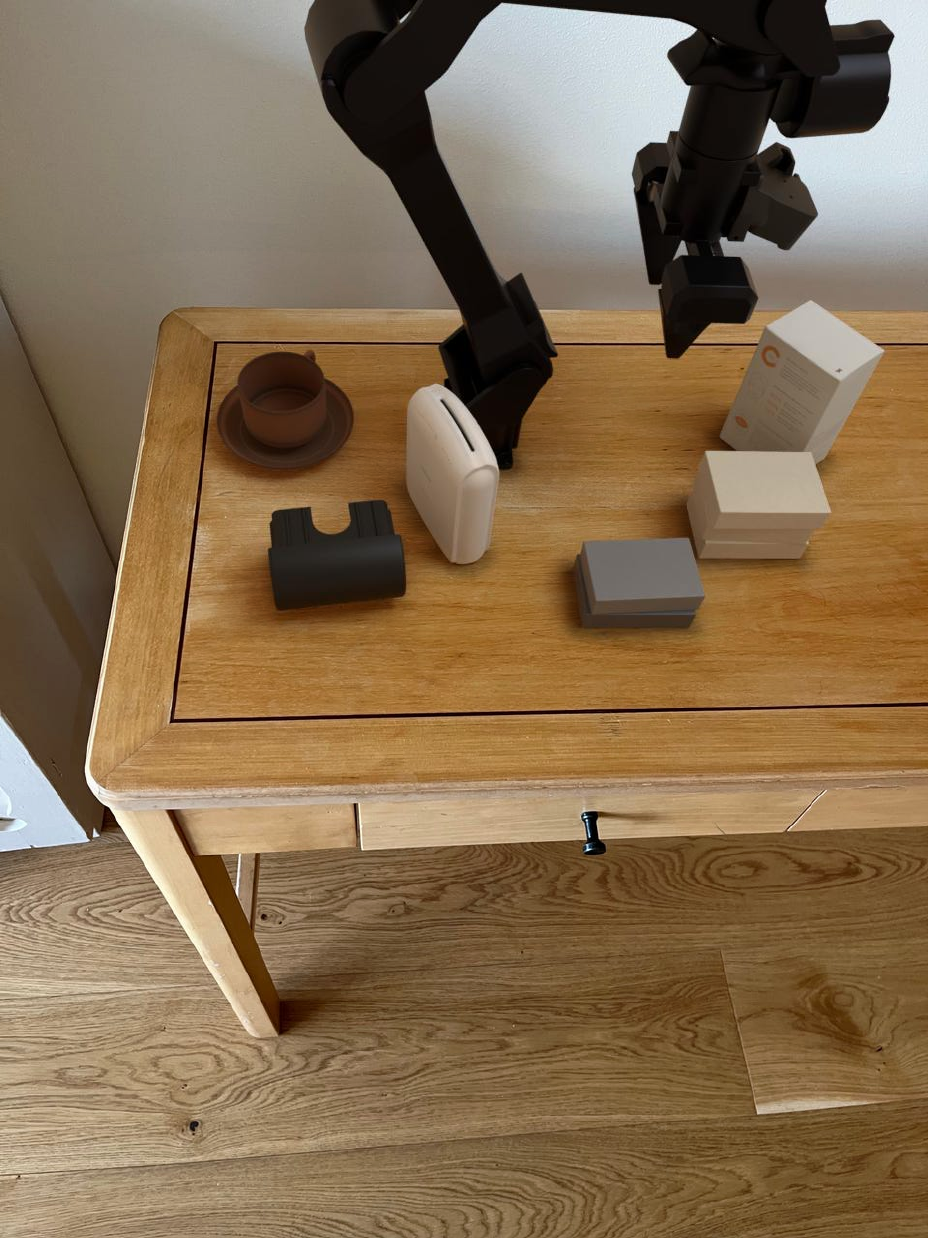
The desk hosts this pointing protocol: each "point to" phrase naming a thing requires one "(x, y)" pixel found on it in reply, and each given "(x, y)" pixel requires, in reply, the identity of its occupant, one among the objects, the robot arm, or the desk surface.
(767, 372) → the small box
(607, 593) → the grey books
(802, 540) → the white books
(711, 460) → the white book
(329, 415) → the cup and saucer
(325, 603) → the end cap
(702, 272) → the robot arm
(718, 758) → the desk surface
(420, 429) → the photo printer
